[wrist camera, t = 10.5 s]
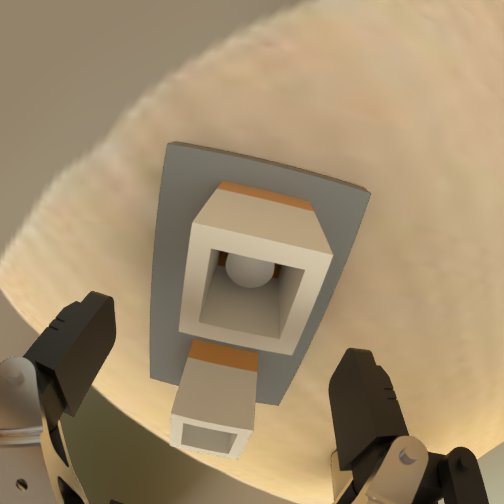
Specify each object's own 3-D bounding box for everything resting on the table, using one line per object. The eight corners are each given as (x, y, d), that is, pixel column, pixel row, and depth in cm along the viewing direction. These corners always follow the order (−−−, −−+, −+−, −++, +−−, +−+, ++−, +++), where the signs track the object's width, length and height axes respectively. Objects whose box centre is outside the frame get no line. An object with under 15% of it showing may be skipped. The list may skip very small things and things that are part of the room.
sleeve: (309, 201, 16) (333, 255, 10) (286, 275, 19) (292, 355, 12) (222, 180, 16) (192, 222, 10) (208, 258, 18) (178, 331, 12)
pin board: (278, 393, 26) (278, 471, 18) (154, 366, 25) (126, 439, 18) (363, 187, 17) (425, 241, 10) (175, 141, 17) (104, 163, 9)
